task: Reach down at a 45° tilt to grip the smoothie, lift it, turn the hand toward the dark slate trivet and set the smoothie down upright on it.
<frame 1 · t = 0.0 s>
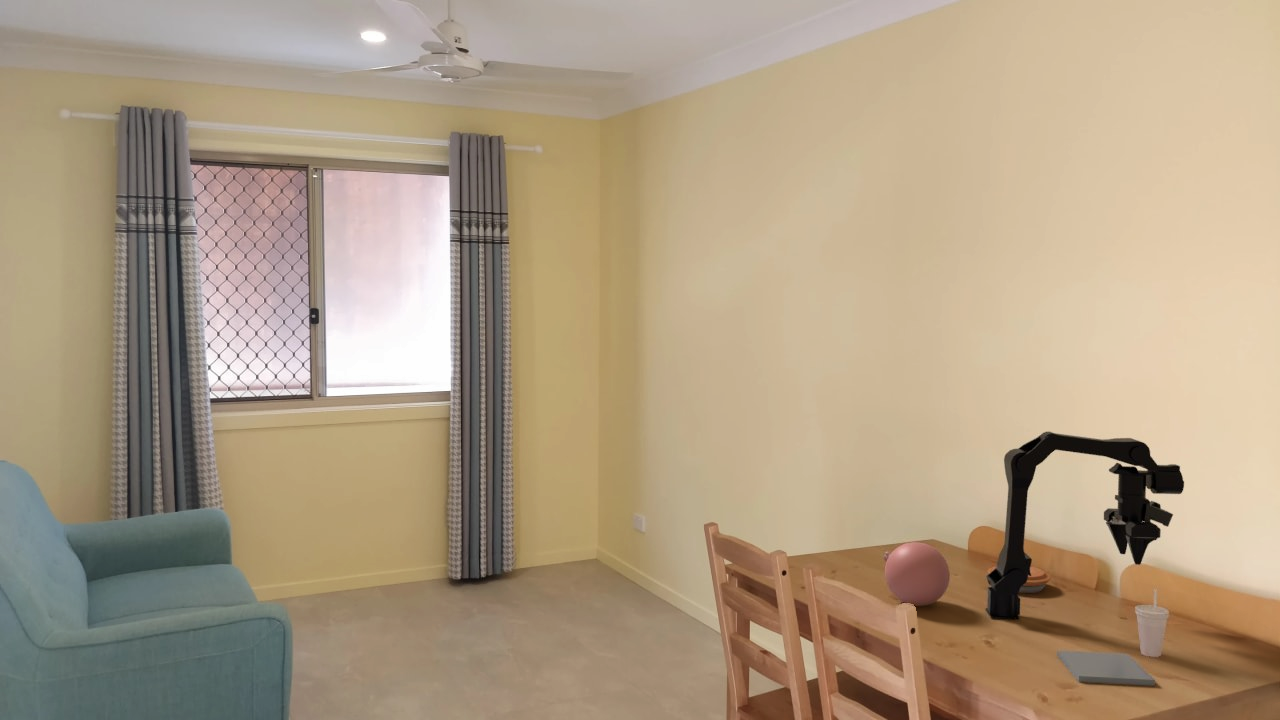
hand: (1130, 559, 219), 15 cm above the table, tool pointing down, fingers open, 9 cm apart
balloon: (911, 602, 235), on the table
pie: (1018, 588, 247), on the table
slate trivet: (1104, 670, 190), on the table
smoothie: (1150, 654, 199), on the table
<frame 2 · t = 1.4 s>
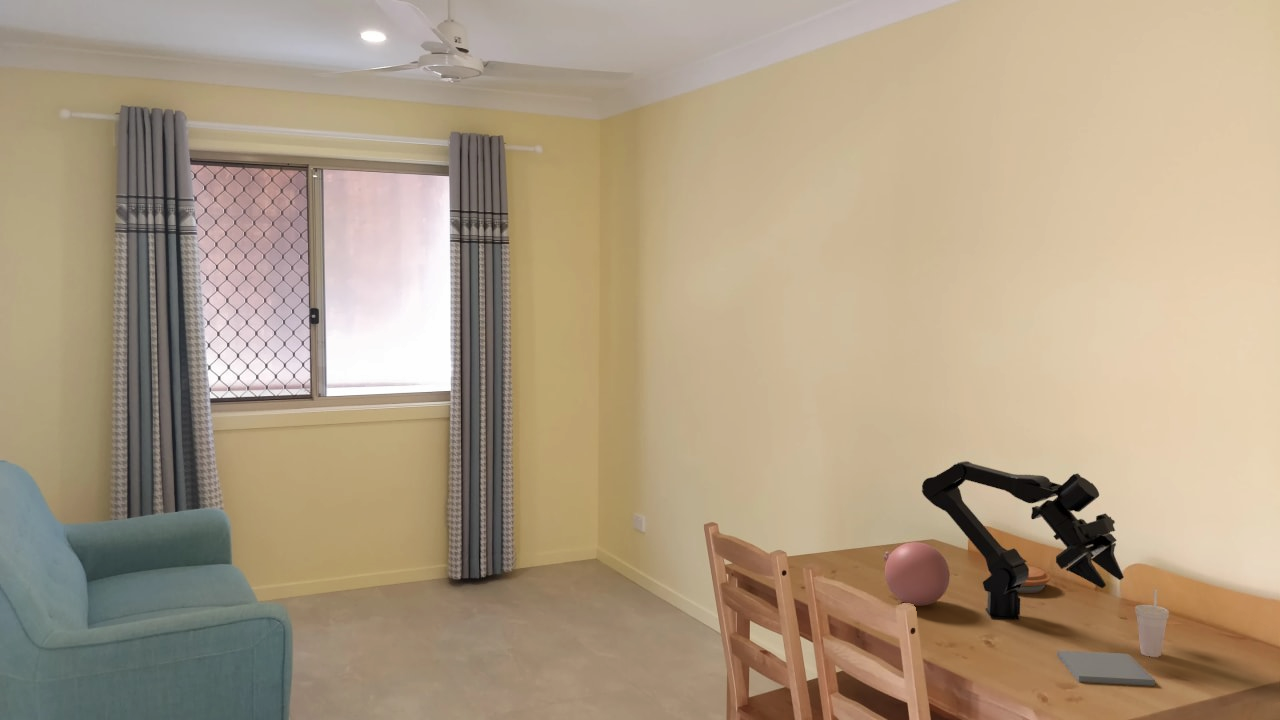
hand: (1113, 582, 204), 13 cm above the table, tool tilted 45°, fingers open, 9 cm apart
nothing on the table moved.
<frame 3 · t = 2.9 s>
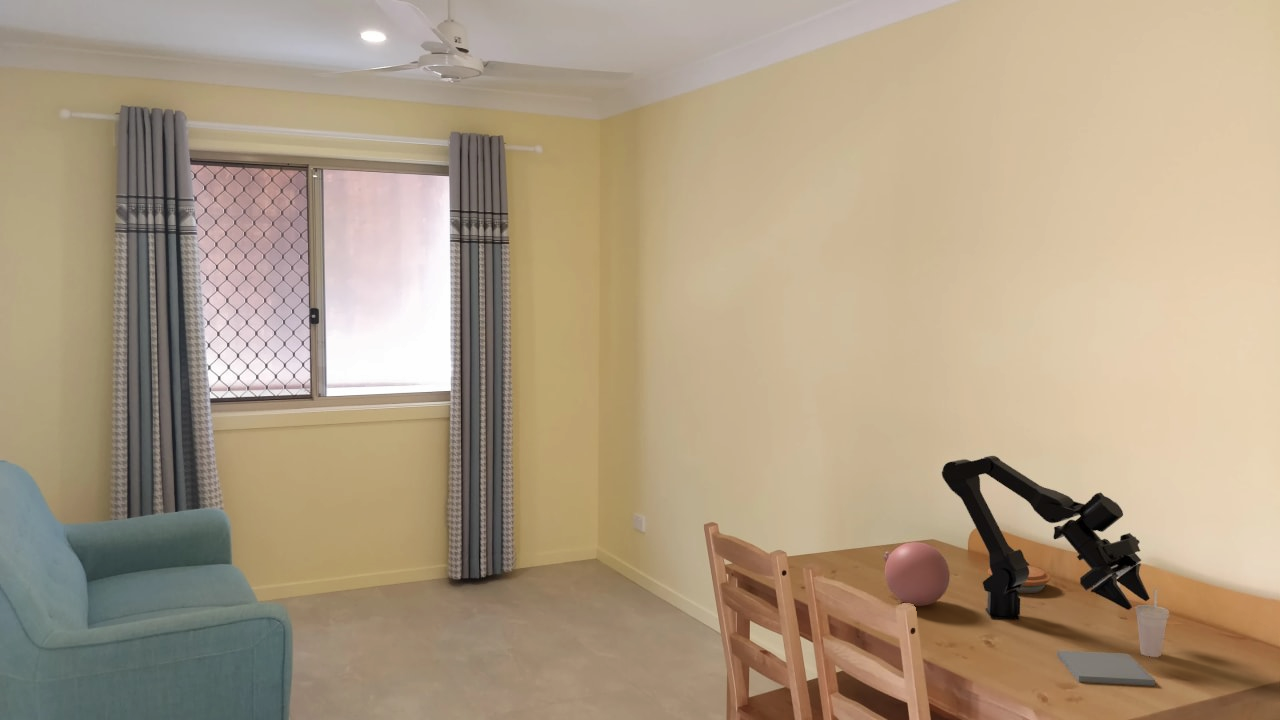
hand: (1139, 604, 200), 10 cm above the table, tool tilted 45°, fingers open, 9 cm apart
nothing on the table moved.
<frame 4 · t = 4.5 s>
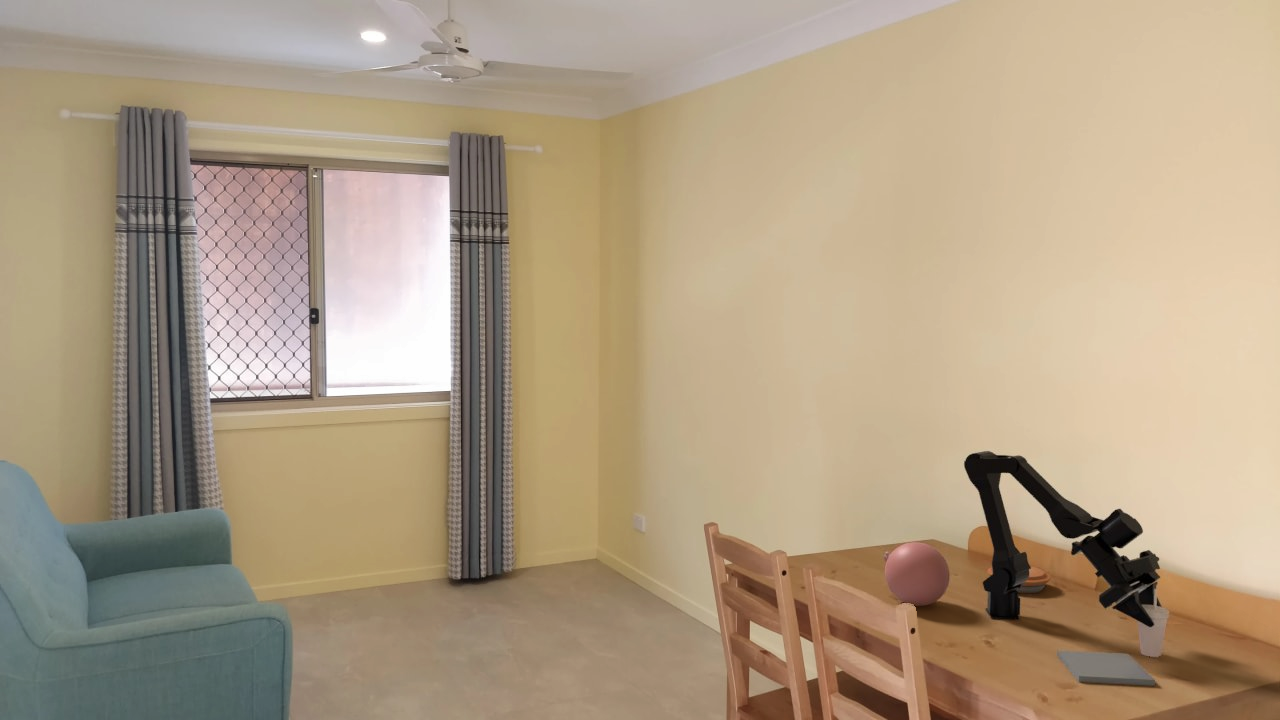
hand: (1158, 622, 197), 7 cm above the table, tool tilted 45°, fingers closed on smoothie, 6 cm apart
smoothie: (1150, 654, 199), on the table, touching gripper
everything else where it was.
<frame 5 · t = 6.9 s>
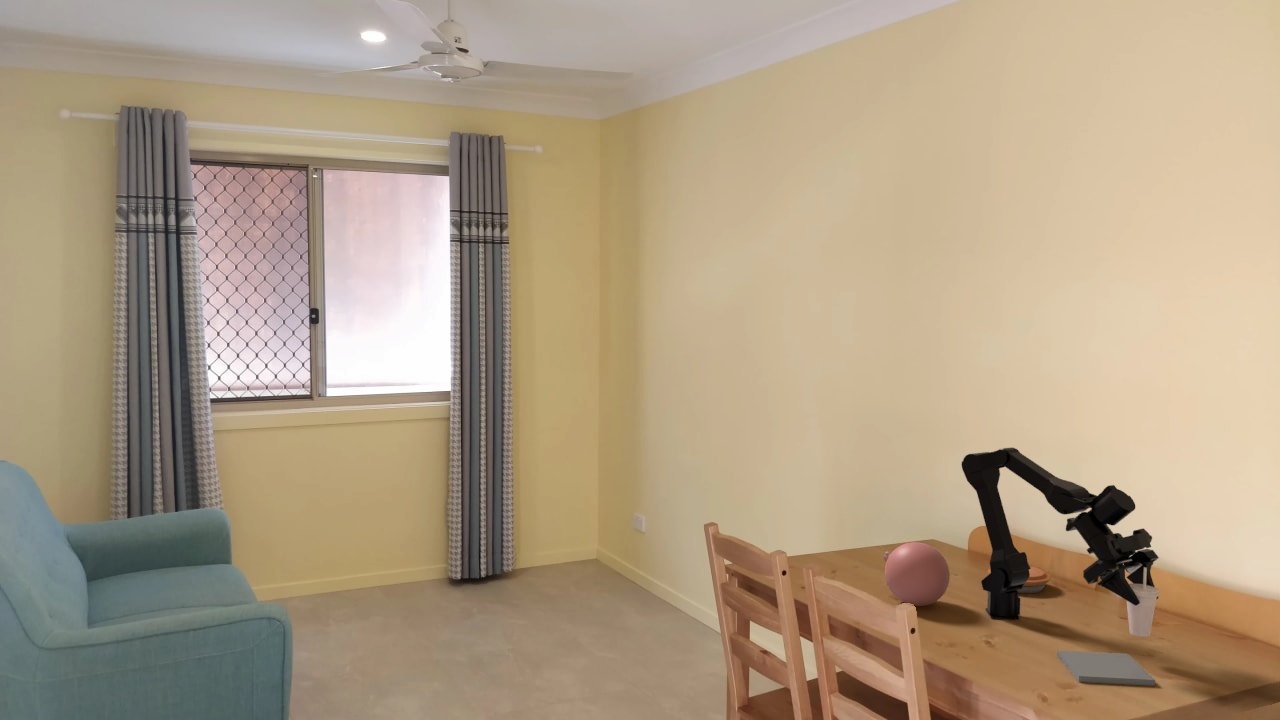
hand: (1147, 601, 193), 13 cm above the table, tool tilted 45°, fingers closed on smoothie, 6 cm apart
smoothie: (1139, 634, 195), point 5 cm above the table, touching gripper
everything else where it was.
when the fingers open (9 cm above the table, at t = 9.4 s): smoothie stays where it is, resting on slate trivet.
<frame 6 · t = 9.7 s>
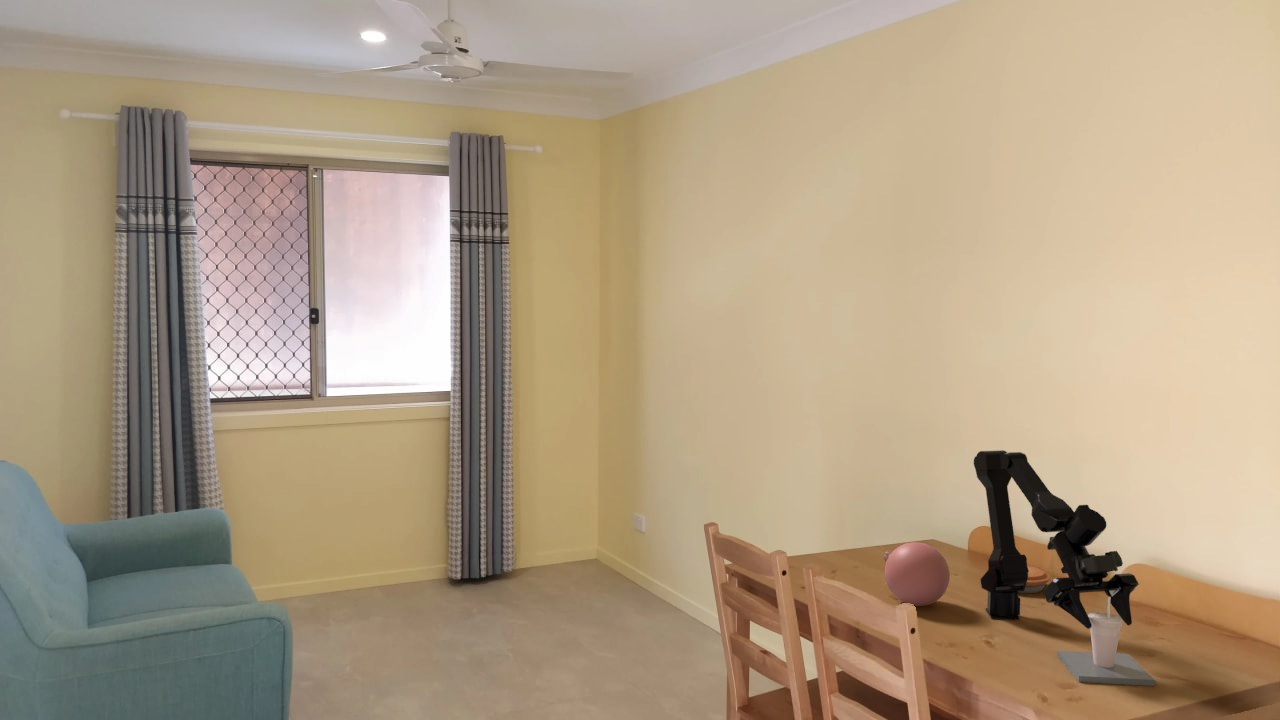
hand: (1110, 626, 188), 10 cm above the table, tool tilted 45°, fingers open, 9 cm apart
smoothie: (1103, 664, 190), point 1 cm above the table, touching slate trivet
everything else where it was.
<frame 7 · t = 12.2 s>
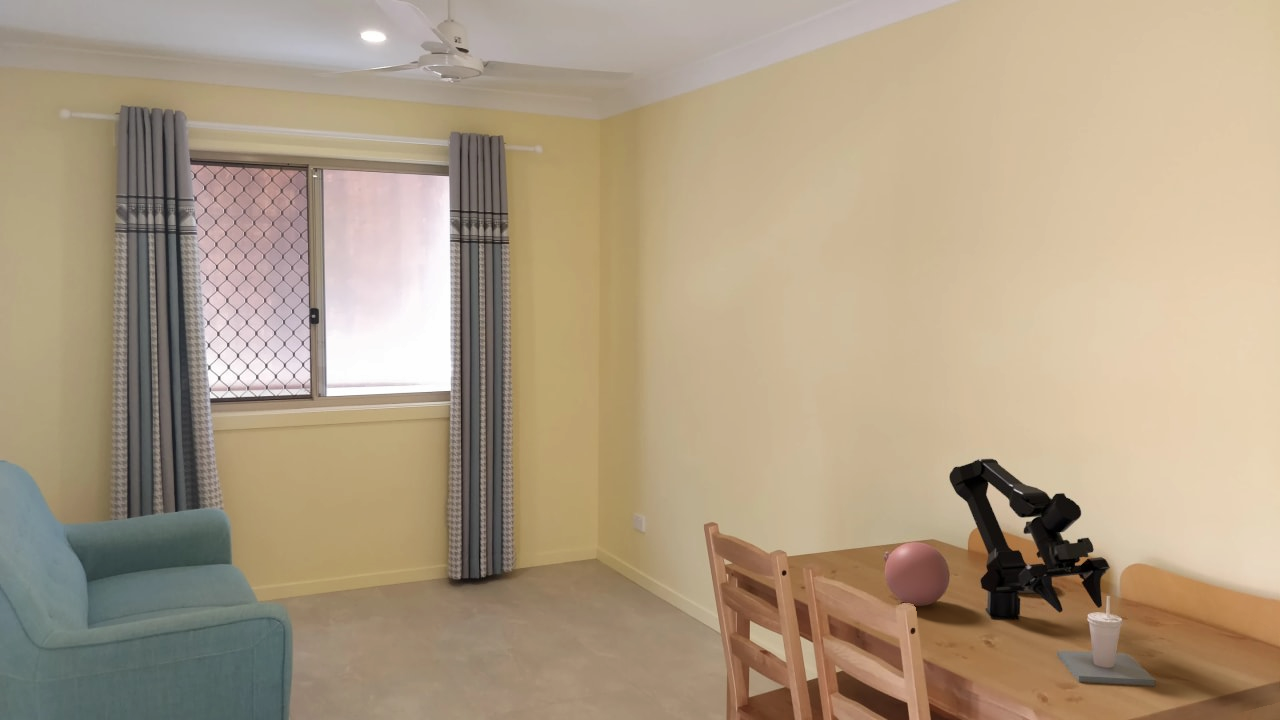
hand: (1080, 609, 198), 10 cm above the table, tool tilted 40°, fingers open, 9 cm apart
nothing on the table moved.
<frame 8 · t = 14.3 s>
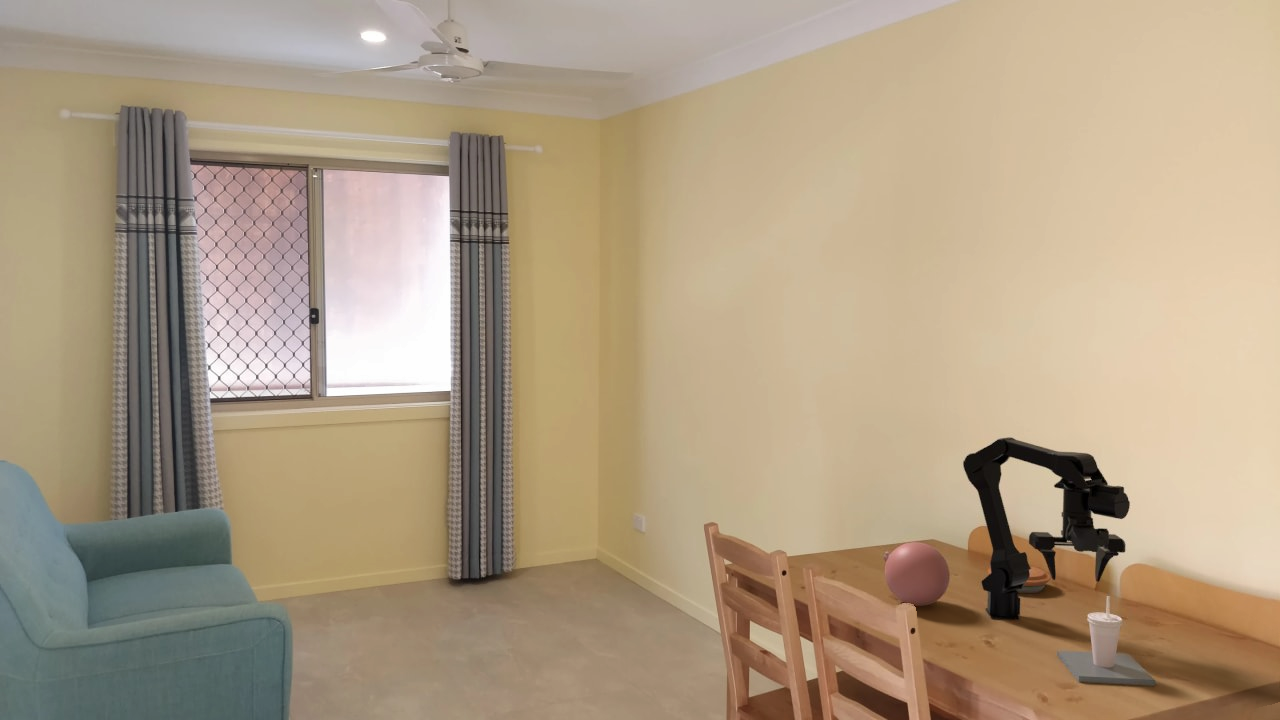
hand: (1075, 580, 208), 13 cm above the table, tool pointing down, fingers open, 9 cm apart
nothing on the table moved.
at the end: smoothie inside the target area on the slate trivet (0.2 cm from its centre), point 1.0 cm above the slate trivet's base; smoothie tilted 0°; the gripper is holding nothing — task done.
